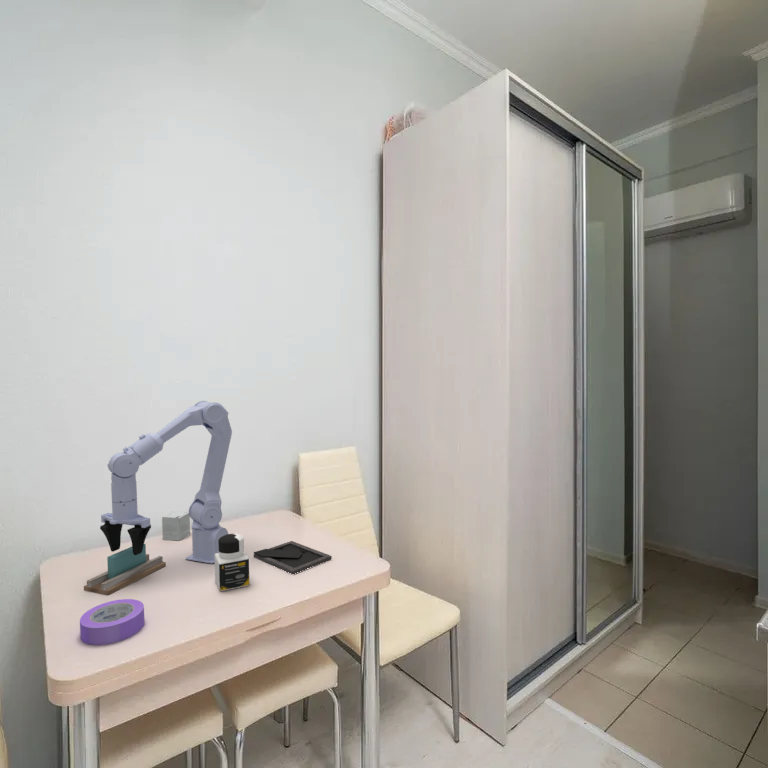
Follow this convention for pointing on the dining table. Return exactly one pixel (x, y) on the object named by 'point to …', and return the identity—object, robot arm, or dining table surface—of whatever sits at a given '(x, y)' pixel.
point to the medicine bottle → (231, 563)
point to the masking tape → (112, 622)
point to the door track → (123, 577)
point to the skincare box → (176, 526)
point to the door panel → (124, 561)
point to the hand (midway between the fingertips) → (126, 551)
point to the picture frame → (292, 557)
